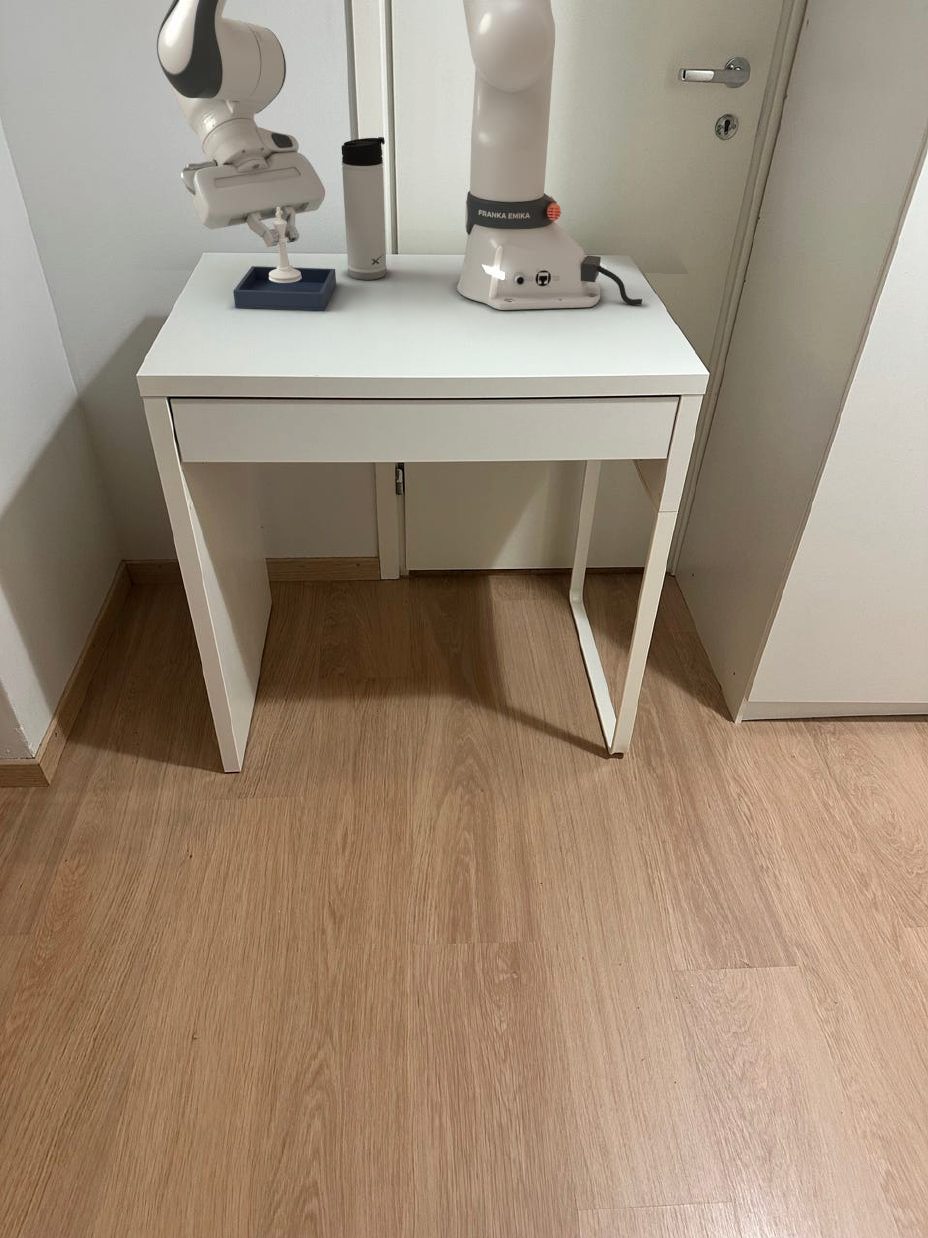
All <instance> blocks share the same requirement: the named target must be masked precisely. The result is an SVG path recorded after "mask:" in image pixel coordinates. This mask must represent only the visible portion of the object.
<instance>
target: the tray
mask: <svg viewBox="0 0 928 1238" xmlns="http://www.w3.org/2000/svg"><path fill="white" fill-rule="evenodd" d="M276 267H277V266H265V265H264V266H262V265H261V266H259V265H252V266H251V267H250V268H249V269H248V271H247V272H246V273H245V275H244V276H243V277H242V278H241V280H239V283H238V284H237V285H236V287H234V289H233V290H232V292H233V300H234V307H235V309H254V310H255V309H257V310H259V309H260V310H282V311H283V310H285V311H286V310H287V311H313V312H315V311H316V312H325V309H326V307H327V306H328V302H329V301H330V299H331V297H332V295H333V293H334V290H335V288H336V287H337V278H336V277H337V275H336V268H322V267H321V268H320V267H319V268H318V267H316V268H315V267H293V266H292V268H293V269H296V270H298V271H300V272H301V276H302V278H301V279H300V280H299V281H296V282H292V283H276V282H273V281H270V280H269V273H270V272H271V271H272V270H275V269H277V268H276Z"/></svg>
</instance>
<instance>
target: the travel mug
mask: <svg viewBox="0 0 928 1238" xmlns="http://www.w3.org/2000/svg"><path fill="white" fill-rule="evenodd" d="M385 144H386V141H385V137H384V136H379V137H364V138H363V137H362V138H357V139H352V140H348V141H345V142H344V143H343V144H342V145H341V165H342V168H341V171H342V172H341V173H342V186H343V187H342V188H343V189H342V190H343V205H344V224H345V241H346V242H345V243H346V255H347V256H346V259H347V274H348V276H349V277H351V278H353V279H356V280H360V281H361V280H362V281H373V280H380V279H382V278H384V277H385V276H386V275H387V253H386V251H387V250H386V249H387V247H386V218H385V187H384V186H385V184H384V182H385V181H384V161H383V148H382V145H385Z"/></svg>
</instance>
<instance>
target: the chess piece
mask: <svg viewBox="0 0 928 1238" xmlns="http://www.w3.org/2000/svg"><path fill="white" fill-rule="evenodd" d="M276 209H277V213H275V214H276V217H277V219H275V220H273V221H272V226H273V228H274V229H275V231H276V233H277V235H278V237H279V242H278V262H277V263H278V264H277V266H275V267H276V268H277V269H275V270H272V271H271V272H270V273H269V280H270V281H273V282H276V283H292V282H296V281H299V280H300V279H301V278H302V276H301V272H300V271H298V270H296V269H293V268H292V267H293V266H292V265H291V264H290V260H289V256H288V251H287V246H286V243H287V241H288V240H289V239H288V237H286V236H285V230H286V227H287V222H286V221H285V220H282V219H281V215H282V211H281V210H280V207H277V208H276Z"/></svg>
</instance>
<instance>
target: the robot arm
mask: <svg viewBox="0 0 928 1238" xmlns="http://www.w3.org/2000/svg"><path fill="white" fill-rule="evenodd" d="M226 3H227V0H172V2H171V5H170V6H169V8H168V10H167V12H166V14H165V16H164V18H163V20H162V22H161V24H160V27H159V30H158V32H157V33H158V34H157V38H156V54H157V59H158V62H159V65H160V68H161V69H162V71H163V75H165V77H166V78H167V80H168V82H169V84H170V85H171V88H172V91H173V94H174V96H175V99H176V102H177V103H178V106H179V108H180V110H181V112H182V115H183V116H184V118H185V120H186V122H187V124H188V126H189V127H190V129H191V130H192V131H193V132H194V133H195V134H196V135H197V137H198V139H199V143H200V147H201V150H202V152H203V154H204V156H205V158H206V160H205V161H201V162H197V163H195V162H192V163H191V162H190V163H188V164H185V167H184V168H183V169H182V170H181V173H180V177H181V180H182V182H183V184H184V186H185V188H186V189H187V191H188V192H189V193H190V196H191V199H192V202H193V205H194V208H195V211H196V213H197V215H198V217H199V219H200V222H201V223H202V225H203V226H205V227H206V228H208V229H209V230H219V229H222V228H228V227H233V226H240V225H245V224H247V226H248V227H249V229H250V230H251V231H252V232H253V233H255V234H256V235H258V236H259V237H260V238H262V240H263V242H264V243H265V246H266V247H267V248H271V247H275V246H276V247H277V246H278V244H279V237H278V235H277V232H276V229H275V228H272V229H271V228H269V227H268V226H267V225H266V224H264V223H263V222H262V221H265V220H271V219H272V220H273V219H276V218H277V217H276V214H275V213H277V209H276V208H277V207H280V210H281V211H282V215H281V219H282V220H285V221H286V222H287V226H286V230H285V236H286V237H288V239H289V240H288V241H286V243H288V244H289V243H294V242H297V241H299V239H300V233H299V231H298V229H297V227H296V215H299V214H303V213H310V212H315V211H318V210H319V208H320V207H321V206H322V204H323V202H324V200H325V197H326V189H325V186H324V184H323V182H322V181H321V179H320V176H319V175H318V173H317V172H316V170H315V168H314V166H313V164H312V163H311V162H310V161H309V159H308V158H307V157H306V156H305V154H304V155H303V154H302V153H300V152H298V151H299V148H300V144H299V142H298V140H297V138H295V136H293V135H291V134H286V133H282V132H281V133H280V132H276V131H272V130H270V129H267V128H263V127H259V126H258V125H257V123H256V121H255V118H254V117H255V115H256V114H259V113H261V112H263V110H264V109H266V108H267V107H268V106H269V105H270V104H271V103H272V102H273V101H274V100H275V99H276V97H277V96H279V94H280V93H281V90H282V89H283V87H284V84H285V81H286V77H287V61H286V57H285V53H284V48H283V47H282V44H281V41H279V39H278V37H277V36H276V34H275V33H274V32H273V31H272V30H271V29H269V28H267V27H264V26H261V25H258V24H254V23H252V22H251V23H250V22H247V21H242V20H238V19H236V20H235V19H231V18H227V17H223V13H224V10H225V6H226ZM462 5H463V10H464V11H463V12H464V16H465V23H466V24H465V25H466V29H467V35H468V41H469V42H468V43H469V48H470V54H471V58H472V62H473V64H474V67H475V68H474V71H475V72H474V86H473V87H474V88H473V90H474V91H473V107H472V119H471V120H472V121H471V130H470V133H471V135H470V171H469V172H470V173H469V191H468V192H467V195H466V200H465V226H464V227H465V231H466V233H467V235H466V244H465V251H464V258H463V263H462V268H461V272H460V276H459V280H458V283H457V286H456V289H457V292H458V293H459V294H460V295H461V296H463V297H465V298H467V299H470V300H472V301H476V302H479V303H483V304H486V305H488V306H489V307H491V308H494V309H496V310H500V311H511V310H512V311H513V310H542V309H543V310H545V309H573V308H575V309H577V308H591V307H593V306H595V305H597V304H598V303H599V301H600V300H601V289H600V285H599V283H598V281H597V278H598V276H599V274H602V275H604V276H606V277H607V278H610V279H611V280H612V281H613V282H614V283H616V285H617V286H618V289H619V295H620V298H621V299H622V301H623V303H625V304H627V305H629V306H630V305H631V306H634V305H635V306H637V305H642V304H643V298H629V297H628V295H627V292H626V287H625V284H624V282H623V280H622V279H621V278H620V277H619V276H618V275H616V273H614V272H612V271H610V270H608V269H606V268H604V267H603V266H601V259H602V258H601V256H599V255H598V256H597V255H590V254H589V255H588V254H587V255H586V253H585V251H584V249H583V247H582V246H581V245H580V244H579V243H578V242H577V241H576V240H575V239H574V238H573V237H571V236H570V235H569V234H568V233H567V231H565V230H564V229H563V228H562V227H561V226H560V225H558V223H556V222H555V221H557V220H559V218H560V217H561V215H562V210H561V207H560V205H559V204H558V202H557V201H556V200H555V199H554V198H553V196H551V195H550V196H549V195H548V194H546V193H545V183H546V169H547V157H548V156H547V155H548V145H549V131H550V115H551V114H550V112H551V98H552V85H553V69H554V56H555V48H556V23H555V18H554V16H553V10H552V9H553V8H552V3H551V0H462Z"/></svg>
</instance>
